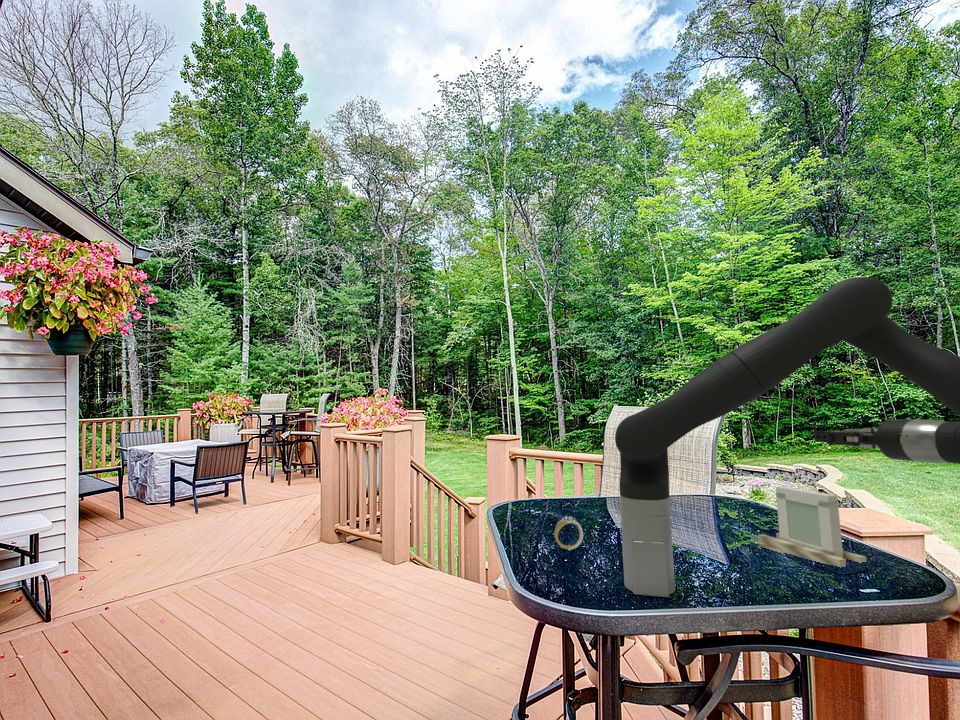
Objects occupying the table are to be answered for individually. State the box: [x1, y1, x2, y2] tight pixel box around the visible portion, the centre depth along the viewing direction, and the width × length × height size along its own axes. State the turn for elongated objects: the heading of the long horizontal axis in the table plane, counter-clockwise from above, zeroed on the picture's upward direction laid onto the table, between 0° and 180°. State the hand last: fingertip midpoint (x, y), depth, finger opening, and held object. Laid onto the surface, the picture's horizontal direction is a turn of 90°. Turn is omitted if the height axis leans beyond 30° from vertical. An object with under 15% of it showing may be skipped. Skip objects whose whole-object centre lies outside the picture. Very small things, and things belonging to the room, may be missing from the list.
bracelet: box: [554, 515, 584, 551], centre depth 114 cm, size 7×3×8 cm, turn 89°
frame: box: [775, 485, 843, 558], centre depth 104 cm, size 13×3×14 cm, turn 14°
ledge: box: [758, 532, 867, 568], centre depth 104 cm, size 20×7×3 cm, turn 14°
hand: (830, 435), depth 99 cm, fingers open, 8 cm apart
